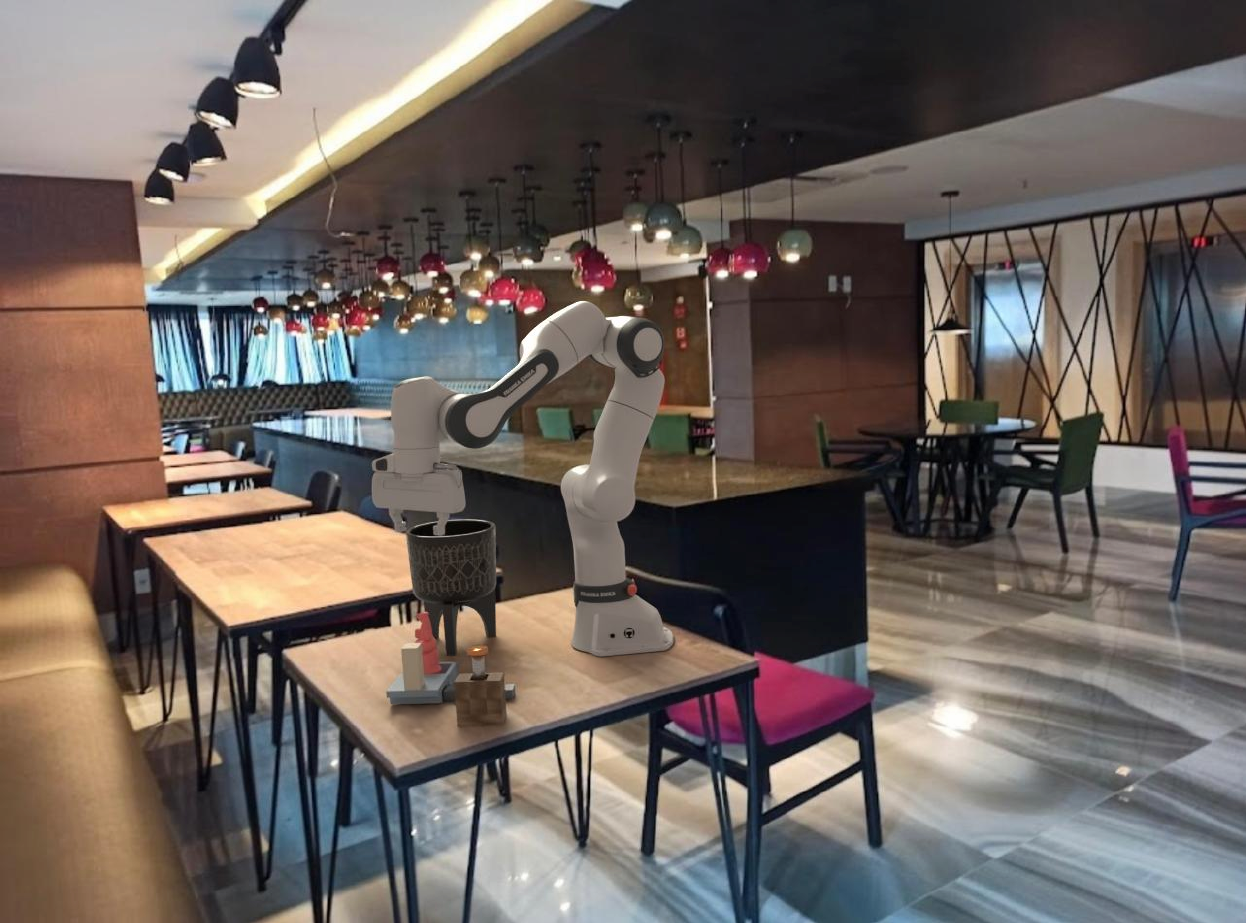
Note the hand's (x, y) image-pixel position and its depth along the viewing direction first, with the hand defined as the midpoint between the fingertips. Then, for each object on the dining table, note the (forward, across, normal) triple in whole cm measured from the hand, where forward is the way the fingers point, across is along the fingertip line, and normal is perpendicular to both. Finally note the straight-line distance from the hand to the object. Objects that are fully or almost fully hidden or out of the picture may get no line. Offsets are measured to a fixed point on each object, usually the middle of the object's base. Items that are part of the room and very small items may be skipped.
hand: (419, 533), depth 174 cm
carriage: (+30, -2, +3) cm, 31 cm away
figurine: (+31, -1, 0) cm, 31 cm away
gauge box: (+30, -21, +10) cm, 38 cm away
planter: (+30, +10, -24) cm, 40 cm away
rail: (+30, -10, +4) cm, 32 cm away
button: (+24, -21, +10) cm, 33 cm away
